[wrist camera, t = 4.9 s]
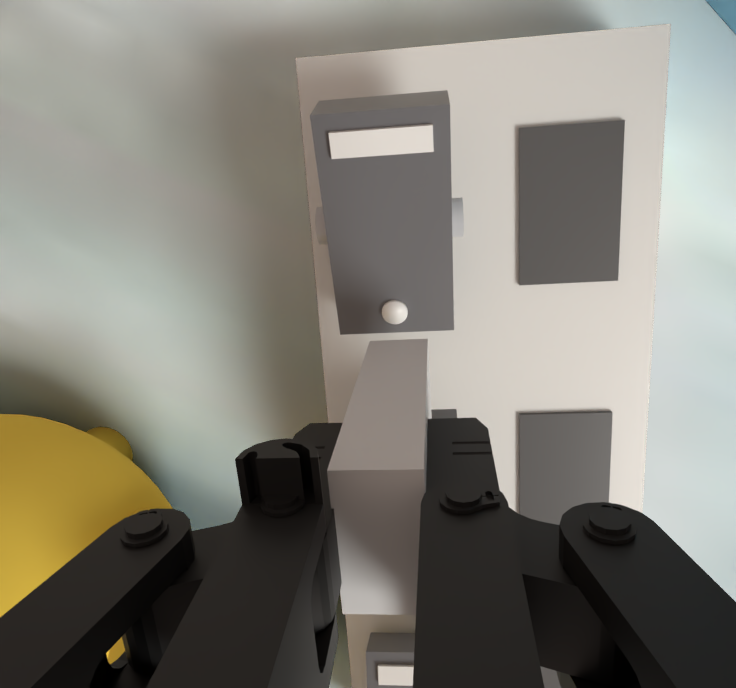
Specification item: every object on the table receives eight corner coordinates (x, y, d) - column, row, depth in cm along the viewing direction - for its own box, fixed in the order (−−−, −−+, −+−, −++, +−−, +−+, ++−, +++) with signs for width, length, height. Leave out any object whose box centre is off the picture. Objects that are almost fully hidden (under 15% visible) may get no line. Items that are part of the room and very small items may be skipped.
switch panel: (365, 705, 27) (354, 802, 23) (313, 76, 20) (283, 52, 16) (600, 711, 26) (633, 814, 22) (628, 49, 19) (684, 15, 15)
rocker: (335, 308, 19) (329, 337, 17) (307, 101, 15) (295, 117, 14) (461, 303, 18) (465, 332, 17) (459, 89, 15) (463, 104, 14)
